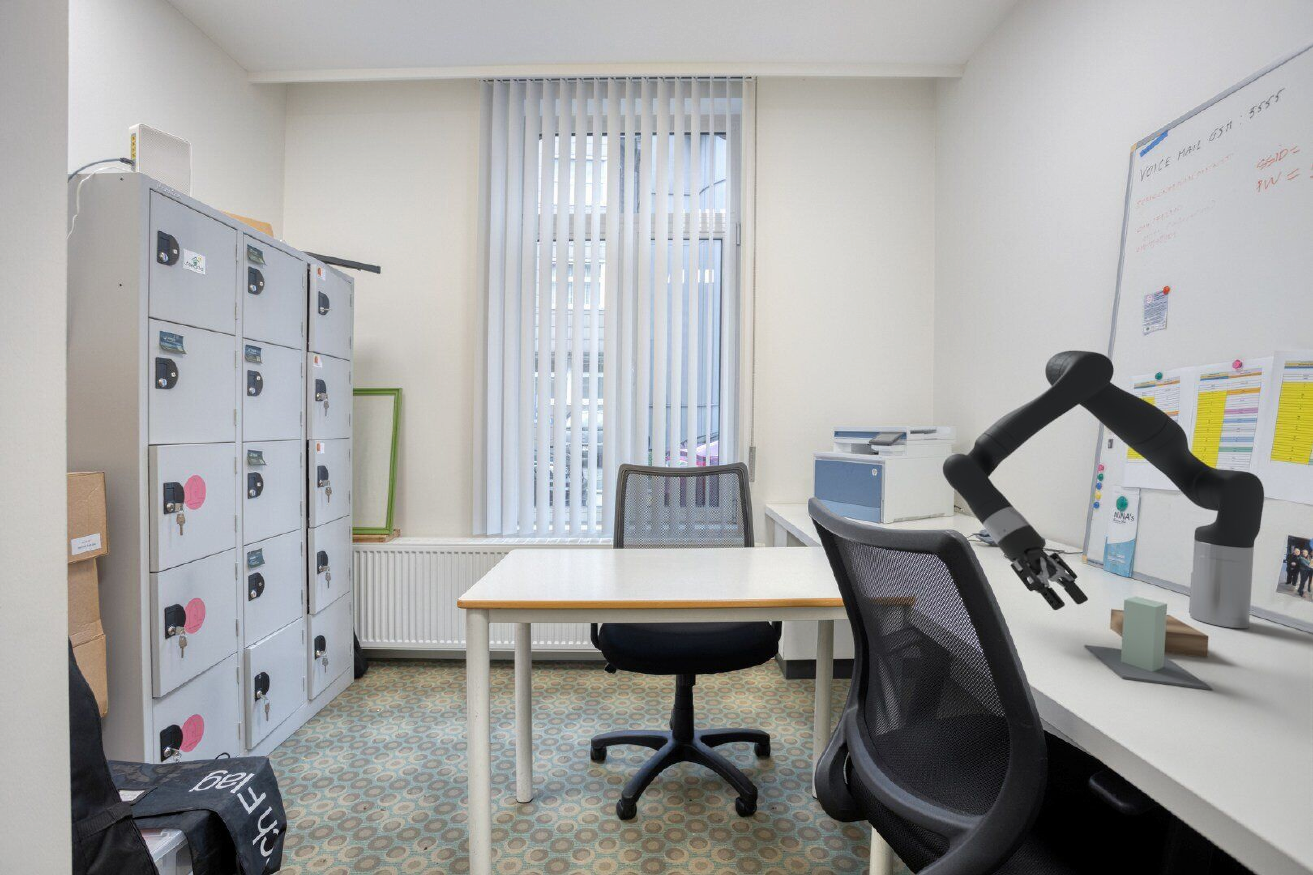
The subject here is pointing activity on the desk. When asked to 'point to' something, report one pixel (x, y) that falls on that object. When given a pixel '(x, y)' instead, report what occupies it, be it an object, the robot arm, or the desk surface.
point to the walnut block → (1172, 636)
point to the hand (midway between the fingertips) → (1072, 605)
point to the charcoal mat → (1164, 675)
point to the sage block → (1144, 633)
